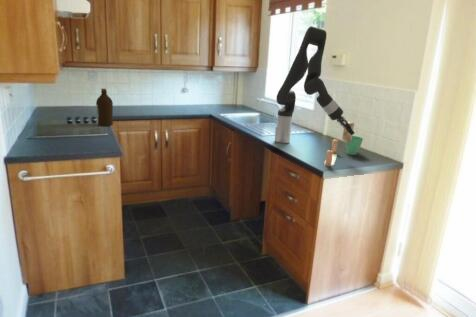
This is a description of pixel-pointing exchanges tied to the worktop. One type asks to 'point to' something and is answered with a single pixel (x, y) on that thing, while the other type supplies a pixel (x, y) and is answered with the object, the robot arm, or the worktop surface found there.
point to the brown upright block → (347, 133)
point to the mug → (354, 145)
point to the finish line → (331, 154)
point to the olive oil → (104, 109)
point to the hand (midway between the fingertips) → (351, 132)
